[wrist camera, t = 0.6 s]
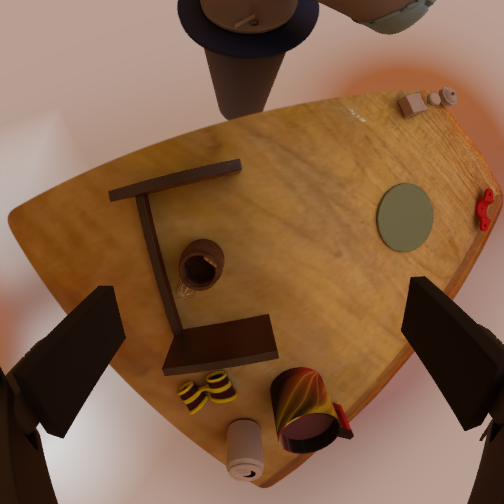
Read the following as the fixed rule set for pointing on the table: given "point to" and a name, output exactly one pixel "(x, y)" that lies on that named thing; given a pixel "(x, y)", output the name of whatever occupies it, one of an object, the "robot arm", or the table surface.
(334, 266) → the table surface
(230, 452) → the beverage can
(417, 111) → the toy set
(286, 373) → the mug
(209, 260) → the utensil holder
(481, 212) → the pipe clamp
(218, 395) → the opera glasses
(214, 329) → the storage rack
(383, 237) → the rubber mat
